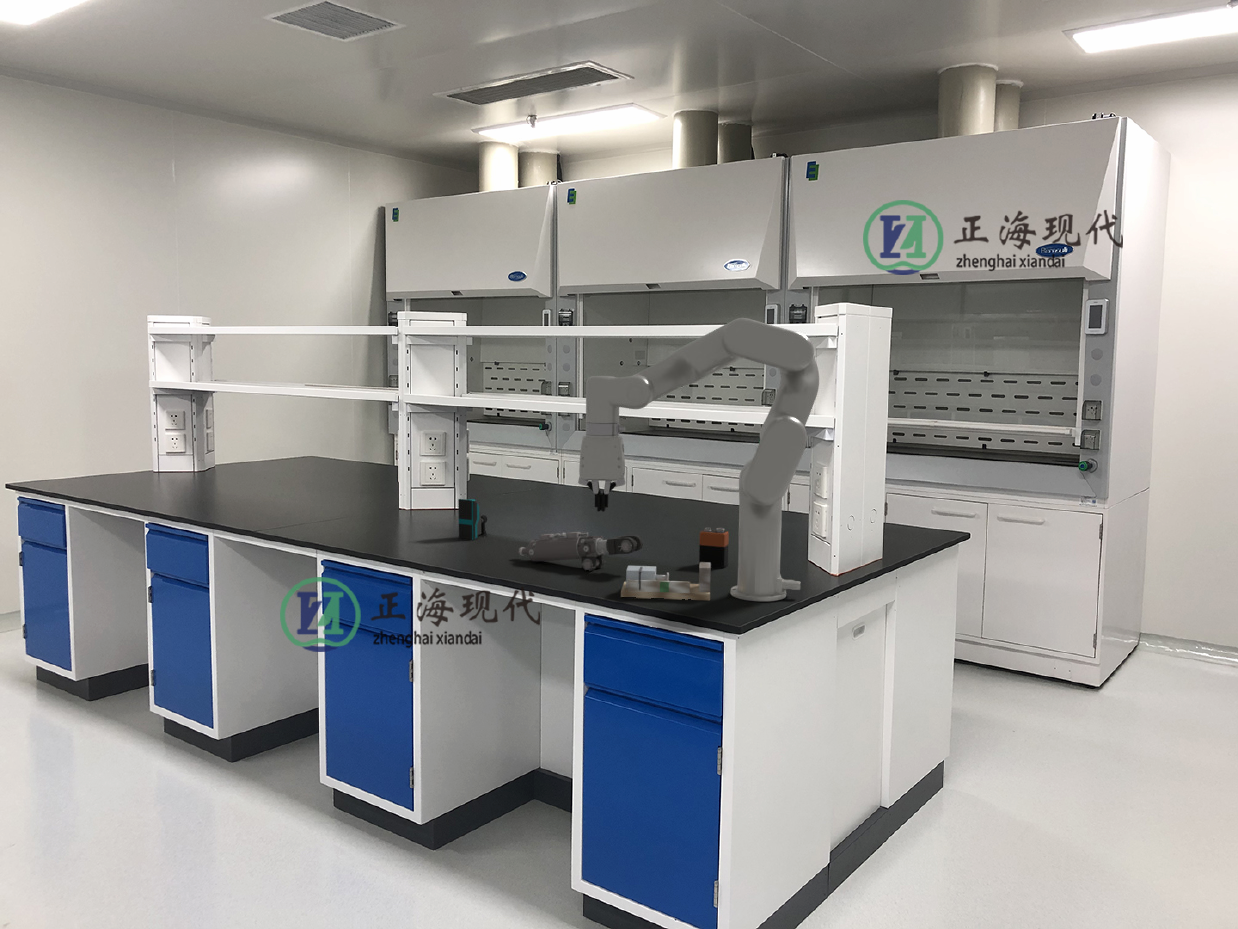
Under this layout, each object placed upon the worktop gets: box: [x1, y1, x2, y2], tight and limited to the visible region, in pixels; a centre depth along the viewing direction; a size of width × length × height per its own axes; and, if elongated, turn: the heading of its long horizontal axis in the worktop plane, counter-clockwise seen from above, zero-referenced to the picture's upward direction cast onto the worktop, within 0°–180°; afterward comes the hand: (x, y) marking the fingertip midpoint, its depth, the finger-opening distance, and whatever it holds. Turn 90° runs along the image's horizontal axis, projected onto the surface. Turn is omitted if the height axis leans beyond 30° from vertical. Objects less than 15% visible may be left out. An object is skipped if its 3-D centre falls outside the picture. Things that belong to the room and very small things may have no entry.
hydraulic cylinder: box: [517, 531, 644, 572], centre depth 241 cm, size 7×37×10 cm, turn 60°
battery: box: [698, 527, 730, 569], centre depth 244 cm, size 4×7×10 cm, turn 67°
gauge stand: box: [620, 562, 712, 601], centre depth 214 cm, size 20×9×7 cm, turn 85°
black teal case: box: [457, 498, 488, 541], centre depth 280 cm, size 6×12×10 cm
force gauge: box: [625, 565, 670, 588], centre depth 213 cm, size 10×8×4 cm
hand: (601, 510), depth 214 cm, fingers closed
